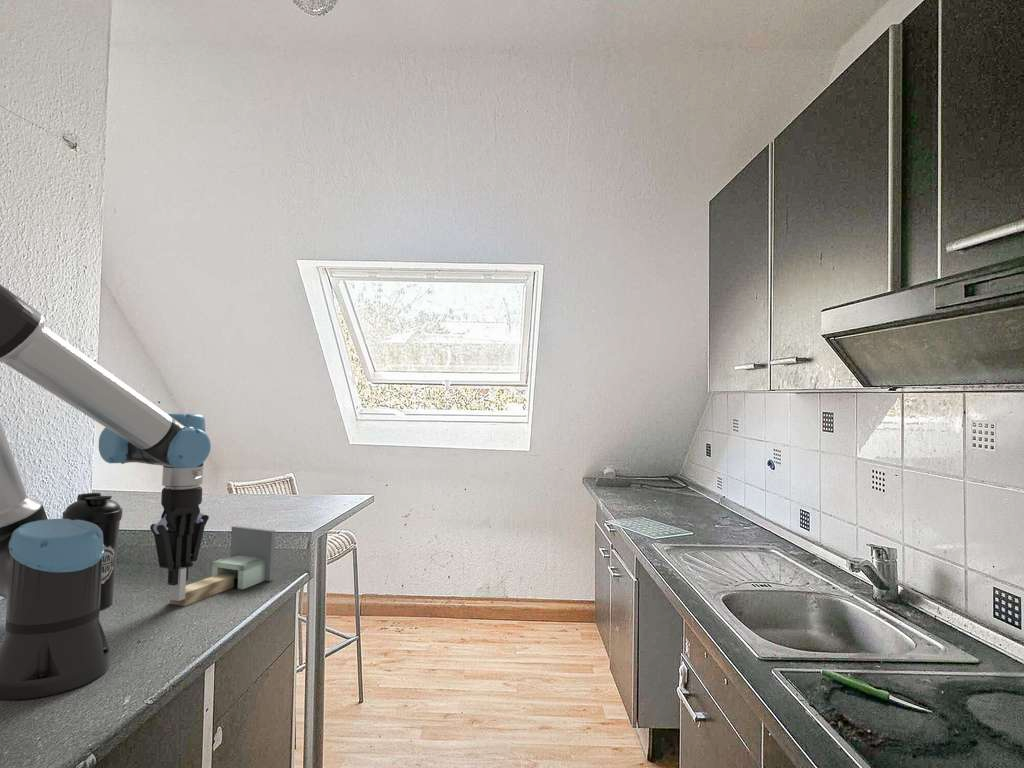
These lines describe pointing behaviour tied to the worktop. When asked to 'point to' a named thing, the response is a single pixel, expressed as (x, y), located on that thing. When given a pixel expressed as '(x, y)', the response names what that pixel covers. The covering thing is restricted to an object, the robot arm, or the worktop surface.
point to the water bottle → (108, 521)
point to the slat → (205, 588)
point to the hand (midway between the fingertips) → (177, 598)
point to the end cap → (248, 556)
